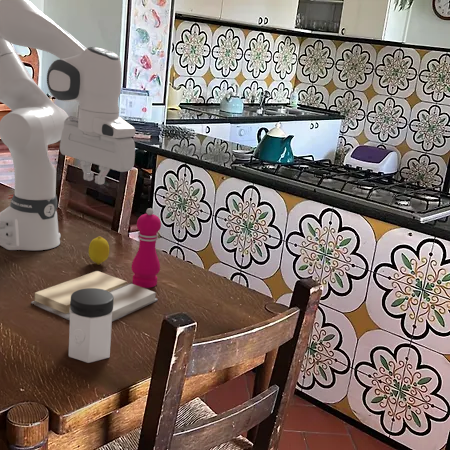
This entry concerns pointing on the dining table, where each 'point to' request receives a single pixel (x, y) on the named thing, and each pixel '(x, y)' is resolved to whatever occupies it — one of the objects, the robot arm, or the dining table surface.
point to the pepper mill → (146, 251)
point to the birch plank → (76, 289)
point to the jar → (90, 324)
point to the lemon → (98, 250)
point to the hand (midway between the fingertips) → (93, 181)
